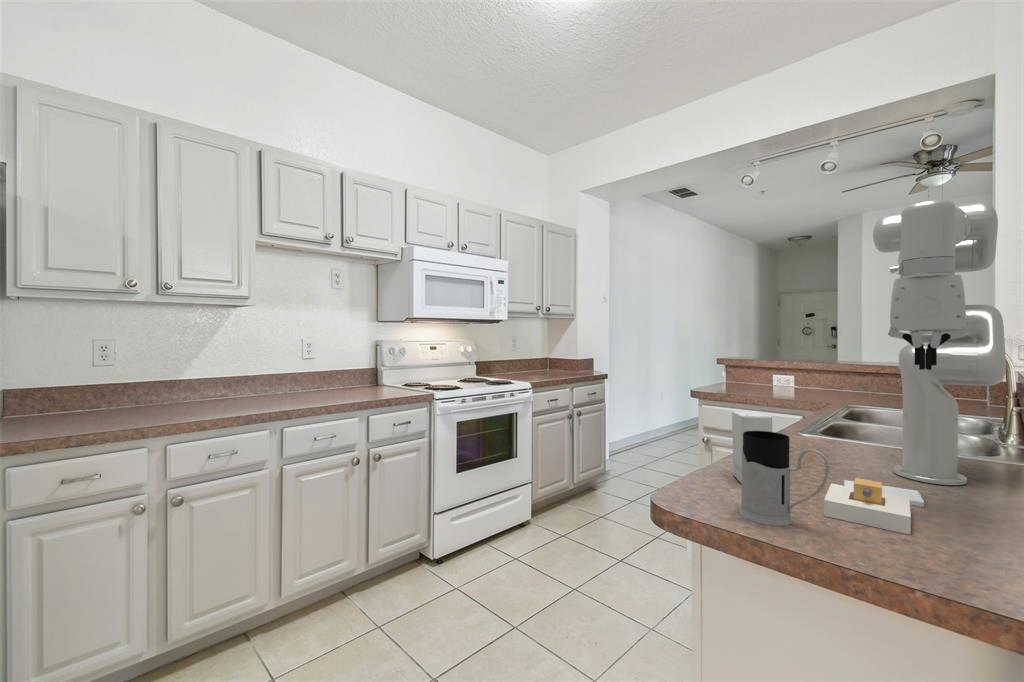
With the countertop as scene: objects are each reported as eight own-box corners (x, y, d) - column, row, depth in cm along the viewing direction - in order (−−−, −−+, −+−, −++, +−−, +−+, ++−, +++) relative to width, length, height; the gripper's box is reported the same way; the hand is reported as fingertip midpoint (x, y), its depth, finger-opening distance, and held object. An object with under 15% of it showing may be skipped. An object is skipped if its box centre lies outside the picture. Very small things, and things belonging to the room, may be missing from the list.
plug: (854, 506, 87) (855, 477, 87) (881, 511, 84) (882, 482, 84) (852, 515, 83) (853, 485, 82) (881, 521, 80) (881, 490, 80)
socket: (831, 497, 93) (831, 483, 93) (908, 513, 85) (909, 497, 85) (823, 515, 84) (824, 499, 84) (910, 534, 76) (910, 516, 76)
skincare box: (774, 488, 98) (774, 417, 98) (741, 486, 100) (741, 416, 99) (760, 476, 107) (761, 410, 106) (730, 474, 108) (731, 409, 108)
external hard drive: (924, 509, 88) (844, 496, 95) (917, 497, 95) (843, 485, 102) (924, 501, 88) (844, 488, 95) (917, 489, 95) (843, 478, 102)
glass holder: (750, 503, 90) (750, 428, 90) (835, 526, 79) (836, 441, 79) (730, 514, 84) (731, 434, 84) (819, 541, 73) (820, 449, 73)
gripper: (874, 271, 86) (872, 368, 86) (988, 263, 76) (986, 373, 76) (875, 275, 91) (874, 366, 92) (981, 268, 82) (980, 370, 82)
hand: (925, 369), depth 84 cm, fingers closed
